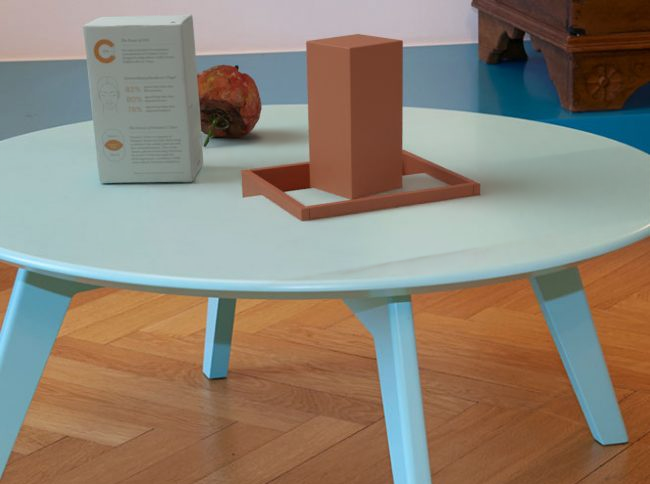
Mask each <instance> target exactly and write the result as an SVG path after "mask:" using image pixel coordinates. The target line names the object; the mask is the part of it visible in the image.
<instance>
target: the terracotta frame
mask: <svg viewBox="0 0 650 484" xmlns="http://www.w3.org/2000/svg"><path fill="white" fill-rule="evenodd" d="M240 174H241V175H240V177H241V194H242V195H241V196H242V197H241V198H242V199H243V198H250V197H251V198H252V197H260V196H263V197H265V198H266V199H268V200H269V201H270V202H272V203H273V204H275V205H276V206H278V207H279V208H281V209H283V210H284V211H286V212H287V213H289V214H290V215H291V216H293V217H294V218H296V219H297V220H298V221H301V222H307V221H313V220H320V219H326V218H334V217H340V216H346V215H353V214H361V213H366V212H367V213H368V212H374V211H380V210H388V209H394V208H401V207H407V206H413V205H420V204H427V203H428V204H429V203H436V202H442V201H448V200H455V199H461V198H468V197H475V196H481V183H480V182H478V181H475V180H473V179H471V178H469V177H467V176H464V175H462V174H461V173H457V172H455V171H453V170H451V169H449V168H446V167H444V166H442V165H439V164H437V163H435V162H433V161H430V160H428V159H426V158H424V157H422V156H419V155H417V154H414V153H412V152H410V151H408V150H406V149H402V177H404V176H412V175H419V174H420V175H421V174H425V175H428V176H429V177H432V178H433V179H436V180H438V181H440V182H443V183H445V184H447V185H444V186H437V187H430V188H424V189H416V190H408V191H403V192H402V191H401V192H396V193H389V194H381V195H374V196H366V197H362V198H358V199H353V200H351V199H346V200H339V201H332V202H326V203H325V202H324V203H319V204H311V205H305V204H304V203H301V202H300V201H298V200H297V199H295V198H294V197H292V196H290V195H289V194H288V193H287V192H294V191H303V190H309V189H311V188H310V163H309V161H303V162H296V163H295V162H294V163H288V164H287V163H286V164H278V165H271V166H264V167H255V168H249V169H248V168H247V169H241V170H240Z"/></svg>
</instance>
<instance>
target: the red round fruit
mask: <svg viewBox="0 0 650 484" xmlns="http://www.w3.org/2000/svg"><path fill="white" fill-rule="evenodd" d="M239 69H240V66H239V65H238V64H235V65H234V66H233V65H229V64H219V65H215V66H211V67H209V68H208V69H205V70H203V71H200V72H197V81H198V94H199V106H200V120H201V133H202V134H204V135H207V136H206V138H205V141H204V143H203V144H202V147H203V148H207V146H208V144H209V142H210V139H211V138H212V137H215V138H217V137H219V138H221V137H230V138H237V139H238V138H243V137H245V136H247V135H249V134H250V133H251V132H252V131H253V130H254V128H255V127H256V125H257V123H258V122H259V121H260V117H261V113H262V112H261V111H262V109H263V108H262V107H263V105H262V101H261V97H260V92H259V90H258V89H259V88H258V86H257V84H256V82H255V79H254V78H253V77H252V76H250V75H249V74H248V73H246V72H240V71H239Z"/></svg>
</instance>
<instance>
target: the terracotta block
mask: <svg viewBox="0 0 650 484" xmlns="http://www.w3.org/2000/svg"><path fill="white" fill-rule="evenodd" d="M305 48H306V49H305V50H306V86H307V119H308V120H307V123H308V125H307V126H308V154H309V155H308V157H309V158H308V159H309V161H308V162H309V163H310V189H316V190H318V191H322V192H326V193H328V194H332V195H335V196H338V197H341V198H344V199H346V200H353V199H360V198H367V197H371V196H373V195H374V196H375V195H378V194H383V193H385V192H391V191H395V190H398V189H402V188H403V176H402V150H403V135H404V133H403V120H404V119H403V115H404V114H403V112H404V111H403V109H404V107H403V105H404V103H403V102H404V97H403V96H404V95H403V93H404V92H403V91H404V90H403V89H404V87H403V86H404V85H403V84H404V81H403V80H404V41H403V40H402V39H396V38H389V37H382V36H376V35H375V36H374V35H368V34H361V33H356V34H355V33H353V34H348V35H340V36H333V37H326V38H319V39H318V38H317V39H312V40H311V39H310V40H306V41H305Z"/></svg>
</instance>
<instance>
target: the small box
mask: <svg viewBox="0 0 650 484" xmlns="http://www.w3.org/2000/svg"><path fill="white" fill-rule="evenodd" d="M82 32H83V38H84V39H83V40H84V48H85V57H86V58H85V59H86V68H87V77H88V87H89V95H90V104H91V105H90V106H91V115H92V124H93V126H92V127H93V136H94V144H95V154H96V163H97V173H98V181H99V183H100V184H119V183H120V184H123V183H167V182H168V183H174V182H175V183H180V182H183V183H184V182H185V183H192V182H194V180H195V178H196V177H197V175H198V173H199V172H200V170H201V168H202V166H203V165H204V153H203V139H202V138H203V137H202V132H201V120H200V106H199V94H198V81H197V74H198V68H197V67H198V66H197V53H196V42H195V29H194V19H193V14H166V15H165V14H163V15H162V14H161V15H121V16H119V15H118V16H116V15H115V16H99V17H98V18H96V19H93V20H92V21H90V22H87V23H86V24H84V25H82Z"/></svg>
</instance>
